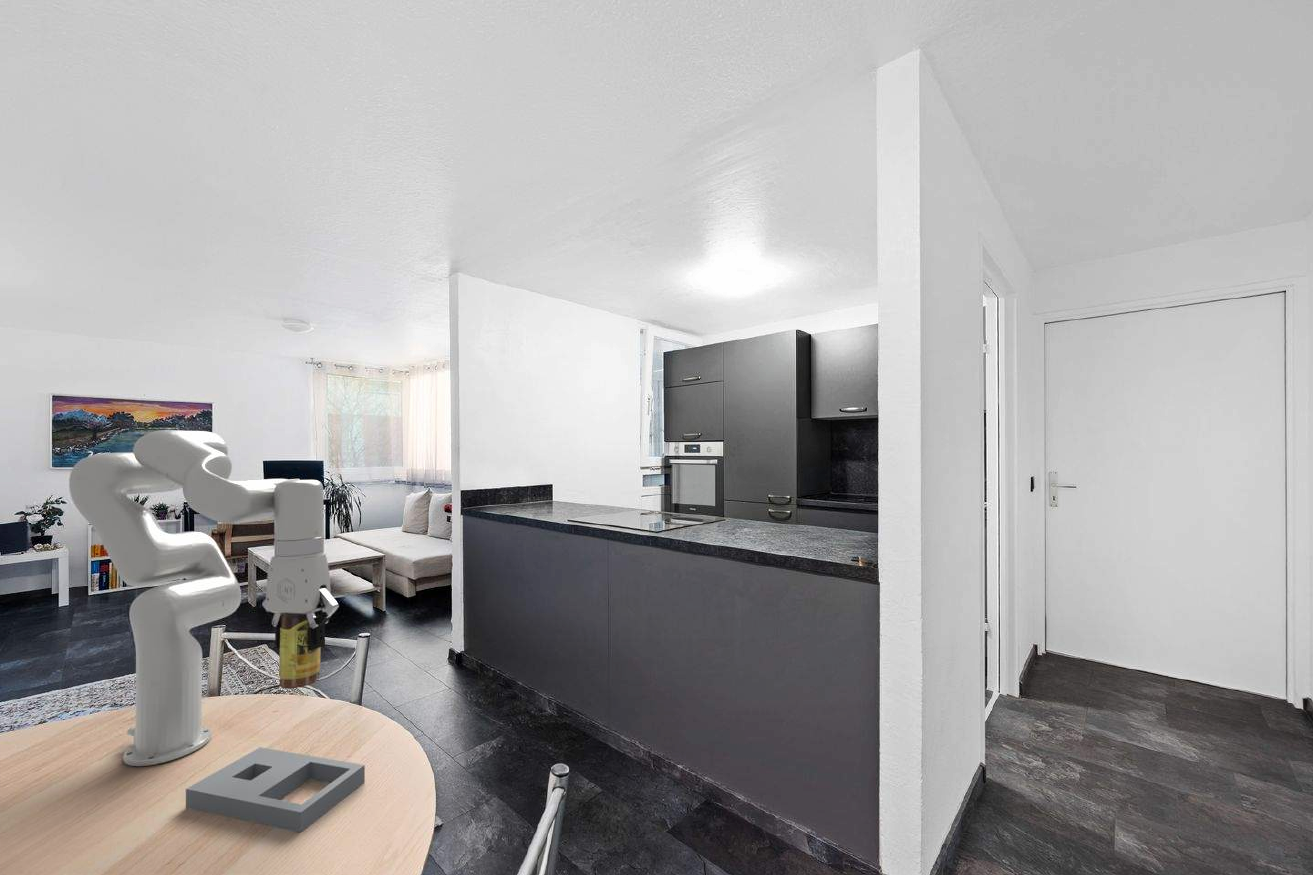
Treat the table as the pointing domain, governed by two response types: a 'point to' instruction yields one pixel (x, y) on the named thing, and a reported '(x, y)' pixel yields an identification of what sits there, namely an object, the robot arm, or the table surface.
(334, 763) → the caddy
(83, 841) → the table surface
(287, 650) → the sauce bottle
